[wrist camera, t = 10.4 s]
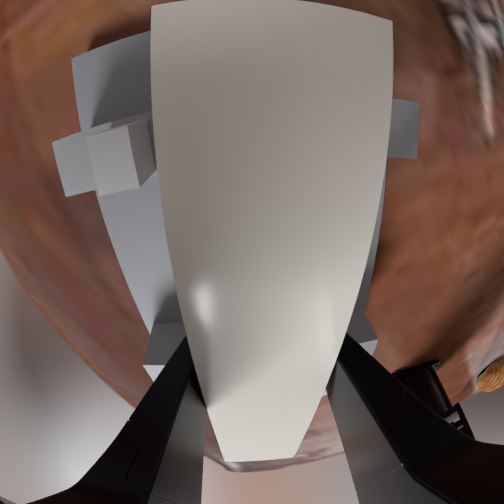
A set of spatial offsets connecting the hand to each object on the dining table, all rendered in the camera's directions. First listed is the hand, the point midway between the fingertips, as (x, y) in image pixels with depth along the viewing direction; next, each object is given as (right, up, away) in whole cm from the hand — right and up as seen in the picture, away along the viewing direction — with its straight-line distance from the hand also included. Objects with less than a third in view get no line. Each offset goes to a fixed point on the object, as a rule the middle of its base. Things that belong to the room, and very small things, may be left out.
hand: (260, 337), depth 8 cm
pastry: (+41, -18, +23) cm, 50 cm away
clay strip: (0, +1, +1) cm, 1 cm away
